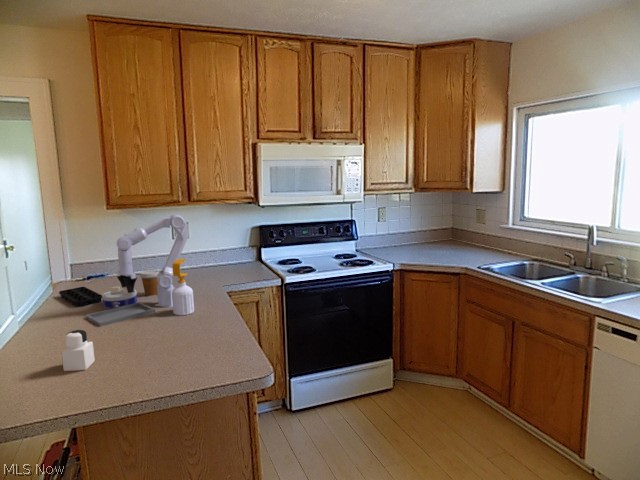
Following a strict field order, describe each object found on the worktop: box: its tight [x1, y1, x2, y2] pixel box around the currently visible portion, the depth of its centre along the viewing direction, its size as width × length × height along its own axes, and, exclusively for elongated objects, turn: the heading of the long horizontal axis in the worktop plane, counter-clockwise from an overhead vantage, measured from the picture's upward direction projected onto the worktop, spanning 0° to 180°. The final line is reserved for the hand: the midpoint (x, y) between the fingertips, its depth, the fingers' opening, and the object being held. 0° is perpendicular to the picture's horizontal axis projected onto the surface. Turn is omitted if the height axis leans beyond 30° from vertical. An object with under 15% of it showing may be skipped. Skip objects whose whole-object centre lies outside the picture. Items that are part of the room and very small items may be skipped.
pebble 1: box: [109, 285, 122, 295], centre depth 213 cm, size 4×4×3 cm
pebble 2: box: [122, 286, 133, 295], centre depth 205 cm, size 4×4×3 cm
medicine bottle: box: [61, 329, 96, 372], centre depth 146 cm, size 7×7×12 cm
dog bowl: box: [101, 288, 138, 309], centre depth 215 cm, size 15×15×6 cm
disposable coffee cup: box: [140, 269, 160, 297], centre depth 230 cm, size 10×10×12 cm
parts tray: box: [85, 301, 156, 327], centre depth 197 cm, size 24×16×2 cm, turn 136°
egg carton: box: [58, 286, 103, 308], centre depth 225 cm, size 18×30×4 cm, turn 57°
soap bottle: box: [172, 258, 195, 316], centre depth 199 cm, size 9×9×25 cm
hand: (128, 291), depth 205 cm, fingers closed on pebble 2, 4 cm apart
